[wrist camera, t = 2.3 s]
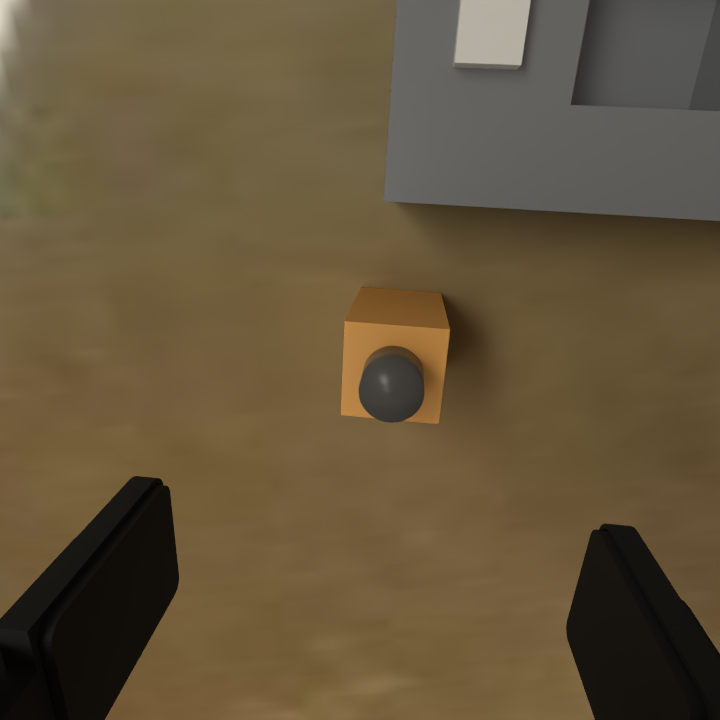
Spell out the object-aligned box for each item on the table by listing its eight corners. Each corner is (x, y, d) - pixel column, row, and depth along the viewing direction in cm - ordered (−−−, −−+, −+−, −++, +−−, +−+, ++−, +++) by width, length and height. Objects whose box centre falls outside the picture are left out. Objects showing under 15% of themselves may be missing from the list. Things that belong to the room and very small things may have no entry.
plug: (440, 292, 27) (454, 344, 18) (432, 367, 28) (441, 446, 20) (360, 287, 27) (338, 335, 19) (356, 361, 29) (334, 436, 20)
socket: (932, -155, 19) (1143, -290, 13) (798, 221, 24) (913, 233, 18) (413, -157, 20) (413, -280, 15) (388, 197, 25) (382, 201, 20)
